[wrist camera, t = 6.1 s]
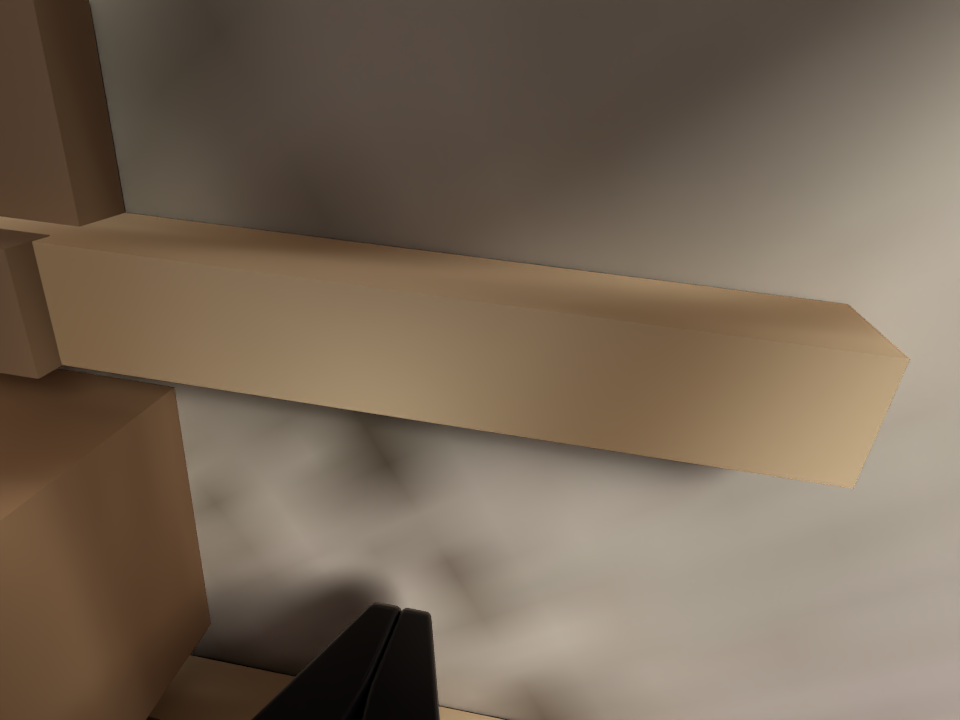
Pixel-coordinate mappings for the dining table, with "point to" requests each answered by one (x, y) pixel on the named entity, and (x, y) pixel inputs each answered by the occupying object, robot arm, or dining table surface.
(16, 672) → the brown cube
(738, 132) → the dining table surface
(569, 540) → the dining table surface
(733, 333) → the rail slot
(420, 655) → the robot arm
